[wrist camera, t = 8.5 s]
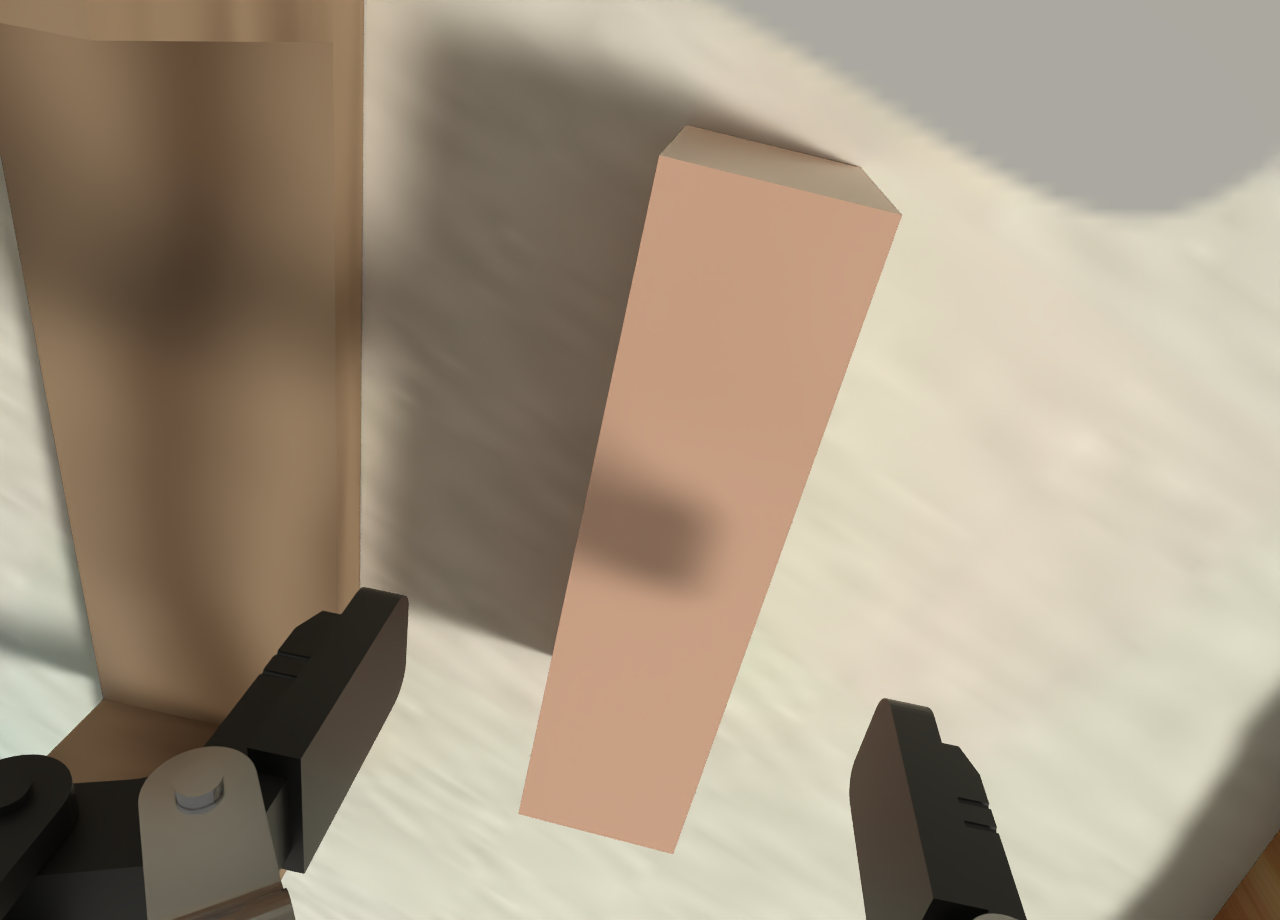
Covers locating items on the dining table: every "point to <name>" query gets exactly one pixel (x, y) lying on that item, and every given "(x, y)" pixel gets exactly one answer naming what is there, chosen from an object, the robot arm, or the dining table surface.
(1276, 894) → the decorative slab
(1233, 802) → the dining table surface
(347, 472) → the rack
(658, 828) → the salmon pink rectangular block
